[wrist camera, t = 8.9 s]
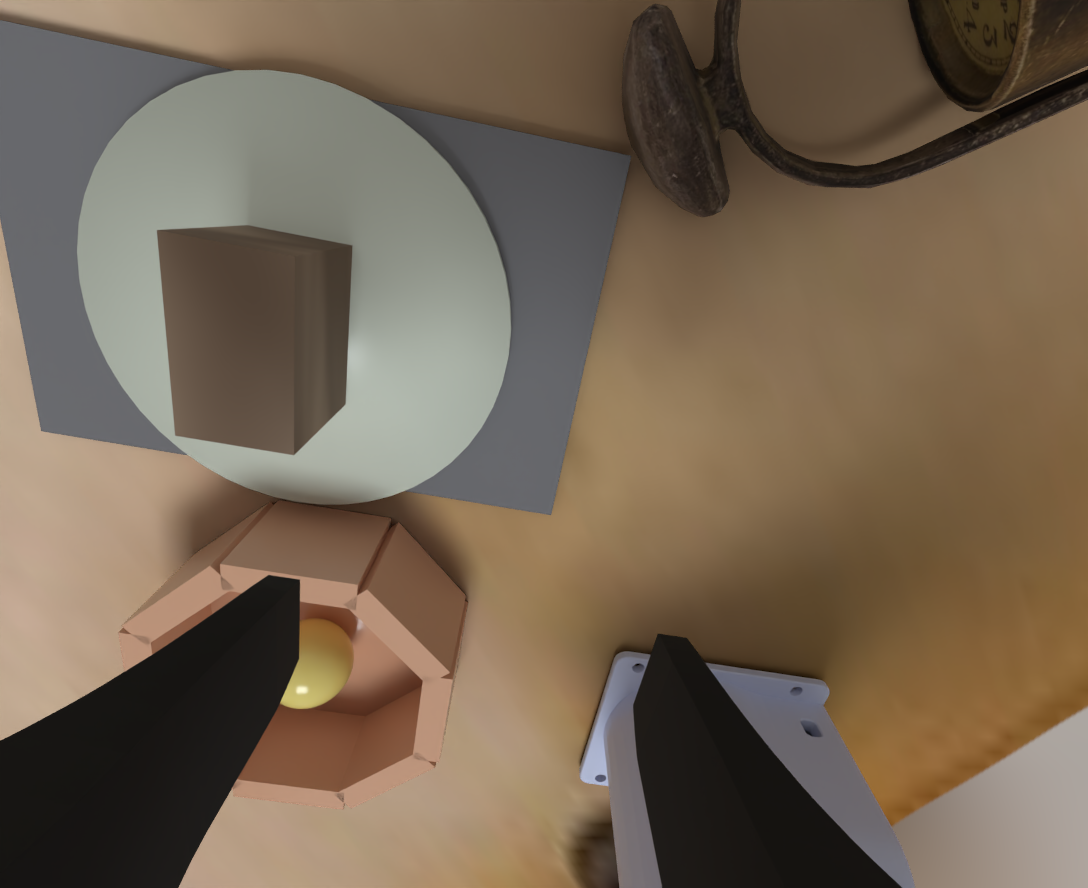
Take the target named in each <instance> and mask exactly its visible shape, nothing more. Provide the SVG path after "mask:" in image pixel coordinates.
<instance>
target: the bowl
mask: <svg viewBox="0 0 1088 888" xmlns="http://www.w3.org/2000/svg"><path fill="white" fill-rule="evenodd" d="M390 524H391V518H387V517H381V516H375V515H369V514H363V513H356V512H350V511H344V510H338V509H332V508H325V507H319V506H313V505H307V504H300V503H294V502H288V501H282V500H278V501H277V502H276V503H275V504H274V505H273V504H272V503H271V502H269V503H268V504H266V505H265V506H263V507H262V508H260V509H259V510H257V511H256V512H255V513H253V514H252V515H250V516H249V517H247V518H246V519H244V520H243V521H242V522H240V523H239V524H237V525H236V526H234V527H233V528H231V529H230V530H229V531H227V532H226V533H224V534H223V535H221V536H220V537H218V538H217V539H216V540H214V541H213V542H211V543H210V544H208V545H207V546H205V547H204V548H202V549H201V550H200V551H198V552H197V553H195V554H194V555H193V556H192V557H191V558H190V559H189V560H188V561H187V562H186V563H185V564H184V565H183V566H182V567H181V568H180V569H179V570H178V571H177V572H176V573H175V574H174V575H173V576H172V577H171V578H170V579H169V580H167V581H166V582H165V583H164V584H163V585H162V586H161V587H160V588H159V589H158V590H157V591H156V592H155V593H154V594H153V595H152V596H151V597H150V598H149V599H148V600H147V601H146V602H145V603H144V604H143V605H142V606H141V607H140V608H139V609H138V610H137V611H136V612H135V613H134V614H133V615H132V616H131V617H130V618H129V619H128V620H127V621H126V622H125V623H124V624H123V625H122V627H123V628H122V629H121V630H120V631H119V632H118V634H119V640H120V646H121V653H122V659H123V666H124V672H125V671H127V670H128V669H130V668H131V667H133V666H135V665H136V664H138V663H139V662H141V661H143V660H144V659H146V658H147V657H149V656H151V655H152V654H154V653H155V652H157V651H158V650H160V649H162V648H163V647H165V646H166V645H168V644H169V643H170V642H172V641H173V640H175V639H176V638H178V637H179V636H181V635H182V634H184V633H185V632H187V631H188V630H190V629H191V628H193V627H194V626H196V625H197V624H199V623H200V622H202V621H203V620H204V619H206V618H207V617H209V616H210V615H212V614H213V613H214V612H216V611H217V610H219V609H220V608H222V607H223V606H224V605H226V604H227V603H229V602H230V601H231V600H233V599H234V598H236V597H237V596H239V595H240V594H241V593H243V592H244V591H246V590H247V589H248V588H250V587H251V586H253V585H254V584H256V583H257V582H259V581H260V580H262V579H263V578H265V577H266V576H268V575H273V576H279V577H286V578H293V579H299V580H300V637H299V660H298V663H297V665H296V667H295V670H294V672H293V674H292V677H291V679H290V682H289V684H288V686H287V689H286V691H285V693H284V695H283V697H282V700H281V702H280V704H279V706H278V709H277V711H276V712H275V714H274V716H273V718H272V720H271V721H270V723H269V725H268V727H267V728H266V730H265V732H264V734H263V735H262V737H261V739H260V741H259V742H258V744H257V746H256V748H255V749H254V751H253V753H252V755H251V756H250V758H249V760H248V761H247V763H246V765H245V767H244V768H243V770H242V772H241V773H240V775H239V777H238V779H237V780H236V782H235V784H234V786H233V787H232V789H233V796H236V797H244V798H252V799H260V800H269V801H277V802H285V803H293V804H301V805H310V806H318V807H326V808H334V809H342V810H343V809H344V806H345V804H346V805H347V806H349V807H350V808H353V807H355V806H357V805H359V804H361V803H363V802H366V801H368V800H370V799H372V798H374V797H376V796H378V795H380V794H382V793H384V792H386V791H388V790H390V789H392V788H394V787H396V786H398V785H400V784H402V783H404V782H406V781H408V780H410V779H412V778H415V777H417V776H419V775H421V774H423V773H425V772H427V771H429V770H431V769H433V768H435V765H436V762H439V761H440V756H441V751H442V745H443V740H444V735H445V730H446V725H447V719H448V714H449V709H450V704H451V699H452V693H453V688H454V683H455V678H456V672H457V666H458V660H459V654H460V648H461V642H462V636H463V629H464V623H465V617H466V611H467V605H468V602H465V598H466V595H465V594H464V593H463V592H462V591H461V590H460V589H459V587H458V586H457V585H456V584H455V583H454V582H453V581H452V580H451V579H450V578H449V576H448V575H447V574H446V573H445V572H444V571H443V570H442V569H441V568H440V567H439V566H438V564H437V563H436V562H435V561H434V560H433V559H432V558H431V557H430V556H429V555H428V554H427V552H426V551H425V550H424V549H423V548H422V547H421V546H420V545H419V544H418V543H417V542H416V540H415V539H414V538H413V537H412V536H411V535H410V534H409V533H408V532H407V531H406V530H405V528H404V527H403V526H402V525H401V524H400V523H399V522H398V523H397V524H395V525H393V526H392V527H390ZM232 789H231V790H232Z"/></svg>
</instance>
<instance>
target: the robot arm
mask: <svg viewBox="0 0 1088 888" xmlns="http://www.w3.org/2000/svg"><path fill="white" fill-rule="evenodd" d="M299 637H300V580H299V579H293V578H286V577H279V576H273V575H268V576H266V577H265V578H263V579H262V580H260V581H259V582H257V583H256V584H254V585H253V586H251V587H250V588H248V589H247V590H246V591H244V592H243V593H241V594H240V595H239V596H237V597H236V598H234V599H233V600H231V601H230V602H229V603H227V604H226V605H224V606H223V607H222V608H220V609H219V610H217V611H216V612H214V613H213V614H212V615H210V616H209V617H207V618H206V619H204V620H203V621H202V622H200V623H199V624H197V625H196V626H194V627H193V628H191V629H190V630H188V631H187V632H185V633H184V634H182V635H181V636H179V637H178V638H176V639H175V640H173V641H172V642H170V643H169V644H168V645H166V646H165V647H163V648H162V649H160V650H158V651H157V652H155V653H154V654H152V655H151V656H149V657H147V658H146V659H144V660H143V661H141V662H139V663H138V664H136V665H135V666H133V667H131V668H130V669H128V670H127V671H125V672H123V673H122V674H120V675H119V676H117V677H115V678H114V679H112V680H111V681H109V682H107V683H106V684H104V685H102V686H101V687H99V688H97V689H96V690H94V691H92V692H90V693H89V694H87V695H85V696H84V697H82V698H80V699H78V700H77V701H75V702H73V703H71V704H69V705H68V706H66V707H64V708H62V709H60V710H58V711H56V712H55V713H53V714H51V715H49V716H47V717H45V718H43V719H42V720H40V721H38V722H36V723H34V724H32V725H30V726H29V727H27V728H25V729H23V730H21V731H19V732H17V733H15V734H13V735H11V736H9V737H7V738H5V739H3V740H1V741H0V888H178V887H179V885H180V883H181V881H182V879H183V877H184V875H185V873H186V870H187V868H188V866H189V864H190V862H191V860H192V858H193V857H194V855H195V853H196V851H197V849H198V847H199V845H200V843H201V842H202V840H203V838H204V836H205V834H206V832H207V830H208V829H209V827H210V825H211V824H212V822H213V820H214V818H215V817H216V815H217V813H218V811H219V810H220V808H221V806H222V805H223V803H224V801H225V799H226V798H227V796H228V794H229V792H230V791H231V789H232V787H233V786H234V784H235V782H236V780H237V779H238V777H239V775H240V773H241V772H242V770H243V768H244V767H245V765H246V763H247V761H248V760H249V758H250V756H251V755H252V753H253V751H254V749H255V748H256V746H257V744H258V742H259V741H260V739H261V737H262V735H263V734H264V732H265V730H266V728H267V727H268V725H269V723H270V721H271V720H272V718H273V716H274V714H275V712H276V711H277V709H278V706H279V704H280V702H281V700H282V697H283V695H284V693H285V691H286V689H287V686H288V684H289V682H290V679H291V677H292V674H293V672H294V670H295V667H296V665H297V663H298V660H299ZM639 663H640V664H641V665H638V666H635V664H639ZM794 687H795V688H794ZM829 693H830V691H829V688H828V687H827V685H826V683H825V682H824V681H822V680H819V679H812V678H805V677H798V676H792V675H785V674H778V673H771V672H765V671H758V670H751V669H744V668H738V667H731V666H724V665H717V664H711V663H705V662H704V661H703V659H702V658H701V656H700V655H699V654H698V652H697V651H696V650H695V648H694V647H693V645H692V644H691V643H690V642H689V640H688V639H687V638H683V637H677V636H670V635H664V634H658V635H657V638H656V641H655V644H654V647H653V649H652V652H651V655H650V654H643V653H636V652H630V651H624V652H620V653H619V654H617V655H616V656H615V658H614V661H613V664H612V667H611V670H610V673H609V677H608V680H607V683H606V686H605V689H604V692H603V696H602V699H601V702H600V705H599V708H598V711H597V715H596V718H595V721H594V724H593V727H592V730H591V734H590V737H589V740H588V743H587V746H586V749H585V753H584V756H583V759H582V762H581V765H580V768H579V773H580V779H581V780H582V781H584V782H585V783H590V784H598V785H605V786H609V795H610V804H611V814H612V823H613V832H614V841H615V850H616V859H617V868H618V878H619V887H620V888H915V884H914V880H913V878H912V874H911V871H910V868H909V865H908V861H907V859H906V857H905V855H904V852H903V849H902V847H901V845H900V843H899V841H898V839H897V837H896V835H895V833H894V831H893V829H892V827H891V825H890V824H889V822H888V820H887V818H886V817H885V815H884V813H883V811H882V809H881V808H880V806H879V804H878V802H877V800H876V799H875V797H874V795H873V793H872V792H871V790H870V788H869V786H868V784H867V783H866V781H865V779H864V777H863V775H862V774H861V772H860V770H859V768H858V766H857V765H856V763H855V761H854V759H853V758H852V756H851V754H850V752H849V750H848V749H847V747H846V745H845V743H844V741H843V740H842V738H841V736H840V734H839V733H838V731H837V729H836V727H835V725H834V724H833V722H832V720H831V718H830V716H829V715H828V713H827V711H826V709H825V708H824V706H823V705H824V703H825V701H826V699H827V698H828V696H829Z"/></svg>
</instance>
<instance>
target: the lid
mask: <svg viewBox="0 0 1088 888" xmlns="http://www.w3.org/2000/svg"><path fill="white" fill-rule="evenodd" d="M77 257H78V270H79V281H80V286H81V291H82V295H83V300H84V305H85V309H86V312H87V315H88V318H89V321H90V324H91V327H92V330H93V333H94V336H95V338H96V340H97V342H98V345H99V347H100V349H101V351H102V353H103V355H104V357H105V359H106V361H107V363H108V365H109V367H110V368H111V370H112V372H113V373H114V375H115V377H116V378H117V380H118V381H119V383H120V385H121V386H122V388H123V389H124V391H125V392H126V393H127V394H128V396H129V397H130V398H131V400H132V401H133V402H134V404H135V405H136V406H137V407H138V409H139V410H140V411H141V412H142V413H143V414H144V415H145V417H146V418H147V419H148V420H149V421H150V422H151V423H152V424H153V425H154V426H155V427H156V428H157V429H158V430H159V431H160V432H161V433H162V434H163V435H164V436H165V437H167V438H168V439H169V440H170V441H171V442H172V443H173V444H175V445H176V446H177V447H178V448H179V449H180V450H182V451H183V452H185V453H186V454H187V455H189V456H190V457H192V458H193V459H194V460H196V461H197V462H199V463H200V464H202V465H203V466H205V467H207V468H208V469H210V470H212V471H214V472H215V473H217V474H219V475H221V476H222V477H224V478H226V479H228V480H230V481H233V482H235V483H237V484H239V485H242V486H244V487H246V488H248V489H251V490H254V491H257V492H260V493H263V494H266V495H269V496H272V497H276V498H281V499H286V500H290V501H295V502H301V503H311V504H321V505H339V504H354V503H361V502H369V501H373V500H377V499H381V498H385V497H389V496H393V495H395V494H398V493H400V492H403V491H405V490H408V489H410V488H413V487H415V486H417V485H418V484H420V483H422V482H424V481H425V480H427V479H429V478H431V477H433V476H434V475H435V474H437V473H438V472H439V471H441V470H442V469H443V468H445V467H446V466H447V465H449V464H450V463H451V462H452V461H453V460H454V459H455V458H456V457H457V456H458V455H459V454H460V453H461V452H462V451H463V450H464V449H465V448H466V447H467V446H468V445H469V444H470V442H471V441H472V440H473V439H474V437H475V436H476V435H477V433H478V432H479V431H480V429H481V428H482V426H483V424H484V423H485V421H486V419H487V417H488V415H489V414H490V412H491V410H492V408H493V406H494V404H495V401H496V398H497V396H498V393H499V391H500V388H501V385H502V382H503V378H504V374H505V370H506V365H507V361H508V357H509V350H510V339H511V329H512V327H511V301H510V295H509V288H508V282H507V276H506V272H505V268H504V265H503V261H502V258H501V255H500V251H499V248H498V245H497V242H496V240H495V238H494V236H493V233H492V231H491V229H490V226H489V224H488V222H487V219H486V217H485V215H484V214H483V212H482V210H481V209H480V207H479V205H478V203H477V202H476V200H475V198H474V197H473V195H472V193H471V191H470V190H469V188H468V187H467V186H466V185H465V183H464V182H463V181H462V179H461V178H460V177H459V175H458V174H457V173H456V171H455V170H454V169H453V167H452V166H451V165H450V164H449V163H448V162H447V161H446V159H445V158H444V157H443V156H442V155H441V154H440V153H439V152H438V151H437V150H436V149H435V148H434V147H433V146H432V145H431V144H430V143H429V142H428V141H427V140H426V139H425V138H423V137H422V136H421V135H420V134H418V133H417V132H416V131H415V130H413V129H412V128H411V127H410V126H408V125H407V124H406V123H405V122H403V121H402V120H401V119H399V118H398V117H396V116H395V115H393V114H391V113H390V112H388V111H386V110H385V109H383V108H382V107H380V106H378V105H377V104H375V103H373V102H372V101H370V100H368V99H367V98H365V97H363V96H360V95H358V94H356V93H354V92H351V91H349V90H347V89H345V88H342V87H340V86H338V85H336V84H333V83H329V82H326V81H323V80H319V79H316V78H312V77H309V76H305V75H302V74H295V73H288V72H280V71H273V70H235V71H230V72H224V73H218V74H213V75H207V76H203V77H200V78H198V79H195V80H192V81H189V82H186V83H184V84H181V85H178V86H176V87H174V88H172V89H170V90H169V91H167V92H165V93H163V94H162V95H160V96H158V97H156V98H155V99H153V100H151V101H150V102H148V103H147V104H146V105H145V106H144V107H142V108H141V109H140V110H139V111H138V112H136V113H135V114H134V115H133V116H132V117H130V118H129V119H128V120H127V121H126V122H125V124H124V125H123V126H122V127H121V128H120V130H119V131H118V132H117V133H116V134H115V136H114V137H113V138H112V139H111V140H110V142H109V143H108V145H107V146H106V148H105V150H104V152H103V153H102V155H101V157H100V159H99V160H98V162H97V164H96V165H95V167H94V170H93V173H92V175H91V178H90V181H89V183H88V186H87V189H86V191H85V194H84V199H83V204H82V208H81V213H80V218H79V225H78V243H77Z"/></svg>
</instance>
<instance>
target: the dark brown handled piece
mask: <svg viewBox="0 0 1088 888" xmlns="http://www.w3.org/2000/svg"><path fill="white" fill-rule="evenodd" d="M908 1H909V6H910V11H911V16H912V20H913V22H914V26H915V29H916V33H917V36H918V39H919V43H920V46H921V49H922V52H923V55H924V57H925V59H926V61H927V64H928V66H929V68H930V71H931V73H932V75H933V77H934V79H935V81H936V82H937V83H938V85H939V86H940V88H941V89H942V91H943V92H944V93H945V95H946V96H947V98H948V99H949V100H951V101H953V102H954V103H956V104H957V105H959V106H960V107H962V108H963V109H965V110H966V111H973V112H984V111H988V110H991V109H994V108H996V107H998V106H1000V105H1003V104H1005V103H1007V102H1009V101H1011V100H1013V99H1016V98H1018V97H1020V96H1022V95H1024V94H1027V93H1029V92H1031V91H1033V90H1035V89H1038V88H1040V87H1042V86H1044V85H1046V84H1049V83H1051V82H1053V81H1055V80H1057V79H1059V78H1062V77H1064V76H1066V75H1068V74H1070V73H1073V72H1075V71H1077V70H1079V69H1081V68H1084V67H1086V66H1088V0H908ZM740 7H741V0H718V2H717V7H716V12H715V39H714V56H713V59H712V61H711V63H710V66H709V67H707V68H705V69H703V70H699V69H695V66H694V64H693V62H692V59H691V57H690V54H689V52H688V50H687V47H686V45H685V42H684V40H683V38H682V35H681V33H680V30H679V28H678V26H677V23H676V21H675V18H674V16H673V14H672V11H671V10H670V9H669V8H668V7H667V6H663V5H658V4H654V5H652V6H650V7H648V8H647V9H646V10H645V11H644V12H643V13H642V14H641V15H640V16H639V17H638V18H636V19H635V20H634V21H633V25H632V28H631V32H630V35H629V39H628V42H627V46H626V49H625V53H624V59H623V78H622V105H623V112H624V119H625V124H626V129H627V133H628V137H629V140H630V143H631V146H632V148H633V150H634V152H635V153H636V155H637V157H638V158H639V160H640V161H641V163H642V165H643V166H644V168H645V170H646V171H647V173H648V175H649V176H650V178H651V180H652V181H653V183H654V185H655V186H656V187H657V188H658V189H659V190H660V191H661V192H663V193H664V194H665V195H666V196H667V197H669V198H670V199H671V200H672V201H673V202H675V203H676V204H677V205H678V206H679V207H681V208H683V209H685V210H687V211H689V212H691V213H693V214H695V215H697V216H700V217H706V216H710V215H714V214H716V213H718V212H720V211H721V210H722V209H723V207H724V206H725V204H726V203H727V201H728V197H729V192H730V189H729V185H728V180H727V176H726V172H725V167H724V163H723V159H722V154H721V149H720V143H719V135H720V134H721V133H722V132H724V131H725V130H727V129H733V130H736V131H737V132H738V134H739V135H740V136H741V138H742V139H743V140H744V142H745V143H746V144H747V146H748V147H749V148H750V149H751V151H752V152H753V153H754V154H755V155H756V156H758V157H759V158H760V159H761V160H763V161H764V162H765V163H766V164H768V165H769V166H770V167H771V168H772V169H774V170H775V171H776V172H778V173H780V174H783V175H785V176H788V177H790V178H792V179H795V180H797V181H800V182H802V183H805V184H807V185H814V186H822V187H845V188H872V187H876V186H880V185H883V184H887V183H891V182H895V181H898V180H902V179H906V178H909V177H912V176H914V175H917V174H920V173H922V172H925V171H927V170H930V169H933V168H935V167H938V166H940V165H943V164H945V163H947V162H949V161H952V160H954V159H956V158H958V157H961V156H963V155H965V154H967V153H970V152H972V151H974V150H976V149H979V148H981V147H983V146H985V145H988V144H990V143H992V142H994V141H997V140H999V139H1001V138H1003V137H1006V136H1008V135H1010V134H1012V133H1014V132H1017V131H1019V130H1021V129H1023V128H1026V127H1028V126H1030V125H1032V124H1035V123H1037V122H1039V121H1041V120H1044V119H1046V118H1048V117H1050V116H1053V115H1055V114H1057V113H1059V112H1061V111H1064V110H1066V109H1068V108H1070V107H1073V106H1075V105H1077V104H1079V103H1081V102H1084V101H1086V100H1088V70H1085V71H1083V72H1080V73H1078V74H1076V75H1073V76H1071V77H1068V78H1066V79H1064V80H1061V81H1059V82H1057V83H1054V84H1052V85H1049V86H1047V87H1045V88H1043V89H1040V90H1038V91H1036V92H1034V93H1032V94H1030V95H1028V96H1025V97H1023V98H1021V99H1019V100H1017V101H1015V102H1013V103H1010V104H1008V105H1006V106H1004V107H1002V108H1000V109H998V110H996V111H994V112H992V113H990V114H988V115H986V116H984V117H982V118H980V119H978V120H976V121H974V122H971V123H969V124H967V125H965V126H963V127H961V128H959V129H957V130H955V131H953V132H950V133H948V134H946V135H944V136H942V137H940V138H938V139H936V140H934V141H931V142H929V143H927V144H925V145H923V146H921V147H919V148H917V149H915V150H913V151H910V152H908V153H905V154H902V155H900V156H897V157H894V158H891V159H888V160H885V161H882V162H879V163H877V164H871V165H863V166H851V165H843V164H835V163H825V162H815V161H810V160H808V159H806V158H803V157H801V156H799V155H796V154H794V153H792V152H789V151H787V150H785V149H784V148H783V147H781V146H780V145H779V144H778V143H777V142H776V141H775V140H774V139H772V138H771V137H770V136H769V135H768V134H767V133H766V132H765V130H764V129H763V127H762V126H761V124H760V123H759V121H758V120H757V118H756V117H755V115H754V114H753V112H752V110H751V107H750V104H749V101H748V98H747V95H746V92H745V89H744V86H743V83H742V80H741V73H740V64H739V56H738V47H737V37H738V27H739V17H740Z"/></svg>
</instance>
